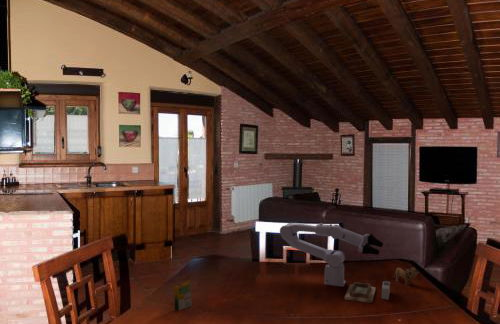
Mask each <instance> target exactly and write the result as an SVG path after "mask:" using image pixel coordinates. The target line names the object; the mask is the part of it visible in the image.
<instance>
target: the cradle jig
mask: <svg viewBox="0 0 500 324" xmlns="http://www.w3.org/2000/svg"><path fill="white" fill-rule="evenodd" d="M376 290H377V289H376V286H372V284H371V283H366V282H365V283H363V282H357V281H353V284H351V283H350V284H349V286H348V288H347V290H346V293H345V295H344V300H345V301H346V300H348V301H354V302H361V303H362V302H363V303H367V304H368V303H370V304H373V301H374V298H375V294H376Z"/></svg>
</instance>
